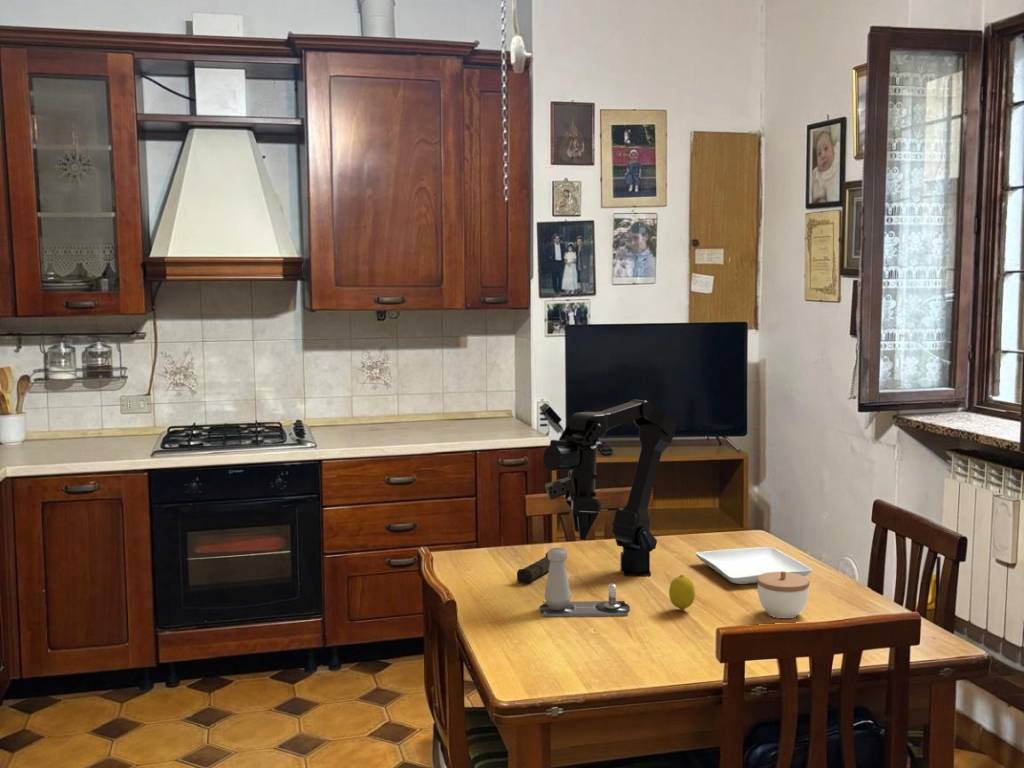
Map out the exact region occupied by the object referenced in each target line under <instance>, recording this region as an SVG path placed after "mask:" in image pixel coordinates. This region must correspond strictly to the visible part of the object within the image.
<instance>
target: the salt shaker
mask: <svg viewBox="0 0 1024 768" xmlns="http://www.w3.org/2000/svg"><path fill="white" fill-rule="evenodd" d="M547 552H548V554H547V556H548V560H550V566H549V571H548V572H547V578H546V582H545V583H546V584H545V591H544V600H545V602H546V603H547V605H548V607H549V608H550V609H551V610H563V609H567V606H568V604H569V602H571V599H572V594H571V589H570V588H571V587H570V584H569V579H568V573H567V569H566V568H567V567H566V563H565V561H567V559H568V552H567V550H566V549H564V548H563V547H562V548H561V547H553V548H550V549H549V550H548V551H547Z"/></svg>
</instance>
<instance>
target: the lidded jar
mask: <svg viewBox="0 0 1024 768" xmlns="http://www.w3.org/2000/svg"><path fill="white" fill-rule="evenodd" d="M756 584H757V595H758V600H759V602H760V605H761V607H762V608H763V609H764V611H766V612H767V615H768V614H769V615H768V616H770V615H771V616H774V617H777V618H776V619H779V618H792V619H795V618H797V617H798V615H800V614H801V612H802V611H803V610H804V609H805V607H806V605H807V604H808V603H807V602H808V598H809V592H810V591H809V589H810V588H809V587H810V580H809V579H808V578H807V577H806V576H802V575H799V574H795V573H789V572H785V571H781V572H769V573H764V574H761V575H759V576H758V578H757V583H756ZM771 616H770V617H771ZM796 616H797V617H796ZM774 617H773V618H774ZM794 617H795V618H794Z"/></svg>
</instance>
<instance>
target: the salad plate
mask: <svg viewBox="0 0 1024 768" xmlns="http://www.w3.org/2000/svg"><path fill="white" fill-rule="evenodd" d="M695 556H696V558H698V559H699V560H700V561H701V562H703V564H705V565H706V566H708V567H710V568H711V569H713V570H714V571H715V572H716V573H718V574H720V575H721V576H722V577H724V578H726V580H728V581H729V582H731V583H733V584H736V585H750V584H749V583H751V584H758V583H757V578H758V576H759V575H761V574H764V573H769V572H781V571H785V572H789V573H795V574H799V575H802V576H804V577H806V576H808V575H810V574H812V572H813V568H811V567H809V566H807V565H805V564H803V562H800V561H798V560H797V559H795V558H793V557H792V556H790V555H788V554H785V552H782V551H780V550H779V549H777V548H775V547H773V546H772V547H771V546H760V547H744V548H729V549H728V548H727V549H715V550H708V551H697V552H695Z"/></svg>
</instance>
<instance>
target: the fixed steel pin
mask: <svg viewBox="0 0 1024 768" xmlns="http://www.w3.org/2000/svg"><path fill="white" fill-rule="evenodd" d="M608 601H609V602H606V603H604V608H606V609H609V610H616V609H619V608H621V604H620V603H618V602H616V601H617V585H616V584H615V583H609V584H608Z"/></svg>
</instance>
